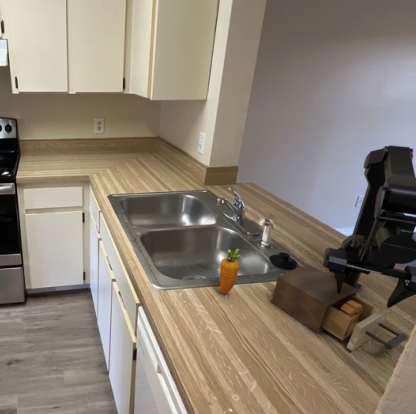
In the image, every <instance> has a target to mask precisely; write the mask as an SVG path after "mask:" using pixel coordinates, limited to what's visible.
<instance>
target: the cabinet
mask: <svg viewBox="0 0 416 414" xmlns="http://www.w3.org/2000/svg"><path fill="white" fill-rule="evenodd" d="M358 290H359V288H358V289H356V288H354V287H352V286H350V285H348V284H346V283H344V282H343V285H342V290H341V292H340V294H338V293H337V282H336V278H335V277H334V275H331V274H329V273H326V272H325V271H322V270H321V269H319V268H317V267H315V266H313V265H311V264H309V263H307V264H304V265H301V266H300V267H298V268H295V269H293V270H290V271H288V272H285V273H282V274H281V275H278V276H277V279H276V283H275V287H274V290H273V294H272V299H271V301H270V303H271V304H273V305H274V306H275V307H277V308H278V309H279V310H281V311H283V312H284V313H286V314H287V315H289V316H290V317H292V318H293V319H295V320H296V321H298V322H300V323H301V324H302V325H303V326H304V327H307V328H309V329H310V330H311V331H312V332H313V333H316V334H319V333H321V332H323V331H324V330H325V329H324V328H322V324H323V321H324V318H325V315H326V313H327V310H328V307H329V306H331V305H333V304H335V303H337V302H339V301H341V300H343V299H345V298H347V297H349V296H351V295H354V296H356V297H357V293H358ZM325 331H326V330H325Z"/></svg>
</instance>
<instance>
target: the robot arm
mask: <svg viewBox="0 0 416 414" xmlns="http://www.w3.org/2000/svg"><path fill="white" fill-rule="evenodd" d="M413 160H414V148H412V147H410V146H401V145H393V144H392V145H391V144H390V145H384V146H383V148H379V149H375V150H371V151H369V153H368V154H366V156H365V159H364V163H363V167H362V168H363V169H364V172H363V175H364V177H365V180H366V182H367V187H366V190H365V193H364V196H363V200H362V202H361V205H360V208H359V212H358V215H357V219H356V222H355V224H354V228H353V230H352V234H350V235H349V236H348V237H347V238H345V239H344V240H343V241H342V243H341V245H340V246H339V247H338V248H333V247H328V248H326V249H324V252H323V256H322V261H323V262H322V265H323V267H324V268H325V269H328V271H329V272H330V273H332V274H333V277H335V278H336V282H337V293H338V294H340V292H341V290H342V285H343V282H344V283H346V284H348V285H350V286H352V287H354V288H356V289H358V290H359V289H361V288H362V286H363V285H362V284H360V283H358V282H359V280H360V277H361V274H365V275H366V276H368V275H370V274H371V273H375V274H378V275H383V276H387V277H390V278H394V279H395V278H396V279H398V281H397V283H396V286H395V287H394V289H393V291H392V292H391V294H390V296H389V297H388V299H387V303H386V307H387V308H386V309H390V308H392V307H394V306H395V305H398V304H399V303H400V302H403V301H405V300H406V299H409V298H411V297H413V296H415V295H416V266H413V265H408V264H410V263H412V262H414V261H416V236H415V229H416V173H415V167H414V163H413ZM406 264H407V265H406ZM396 265H406V266H405V267H404V269H399V268H395V266H396Z"/></svg>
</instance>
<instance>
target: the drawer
mask: <svg viewBox="0 0 416 414" xmlns="http://www.w3.org/2000/svg"><path fill="white" fill-rule="evenodd" d="M350 300H353V301H355V302H357V303H358V304H360V305H362V307H363V311H362V314H361V315H360V317H359V318H358V320H357V321H356V322H354V323H353V324H351V322H352V318H350V317H349V316H347V315H345V314H344V313H342V312H340V310H341V309H340V308H341V307H342V306H343V305H344V304H346V303H347V302H348V301H350ZM374 309H375V305H373V304H371V303H369V302H367V301H365V300H364V299H362V298H360V297H358V296H357V295H356V296H354V295H351V296H349V297H347V298H345V299H343V300H341V301H339V302H337V303H335V304H333V305H331V306H329V307H328V310H327V313H326V315H325V318H324V321H323V324H322V328H324V329H325V331H327V332H328V333H330V334H331V335H333V336H334V337H336V338H338V340H341V341H344V340H346V339H348V338H349V341H348V343H347V345H346V348H347V349H348V350H350V351H351V352H353V351H355V350H357V348H359V347H361V346H362V345H364V344H366V343H367V342H369V341H370V340H372V339H373V340H375V341H376V342H379V343H380V344H382V345H383V346H384V349H386V350H387V351H392V350H393V349H395V348H396V347H398V346H399V345H401V344H402V343H404V342H405V341H406V340H408V336H407V334H406V333H404V332H401V333H400V332H398V331H396V330H394V329H392V328H390V327H389V326H387V325H385V323H386V320H387V318H388V316H389V314H390V310H389V309H388V308H384V307H383V308H381V309H380V310H378V311H376V312H374ZM373 312H374V313H373ZM372 313H373V314H372ZM350 324H351V325H350ZM382 330H386V331H387V332H389V333H391V334H393V335H394V336H395V337H393V338H391V339H390V340H388V341H386V340H383V339H382V338H381V337H378V335H380V333H381V331H382Z"/></svg>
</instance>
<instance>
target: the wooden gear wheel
mask: <svg viewBox="0 0 416 414" xmlns="http://www.w3.org/2000/svg"><path fill="white" fill-rule="evenodd" d="M340 309H341V310H340V312H342V313H344V314H345V315H347V316H349V317H350V318H352V322H351V324H353V323H354V322H356V321H357V320H358V318H359V317H360V315H361V314H362V311H363V307H362V305H360V304H358V303H357V302H355V301H353V300H350V301H348V302H347V303H346V304H344V305H343V306H342V307H341V308H340ZM351 324H350V325H351Z"/></svg>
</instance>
